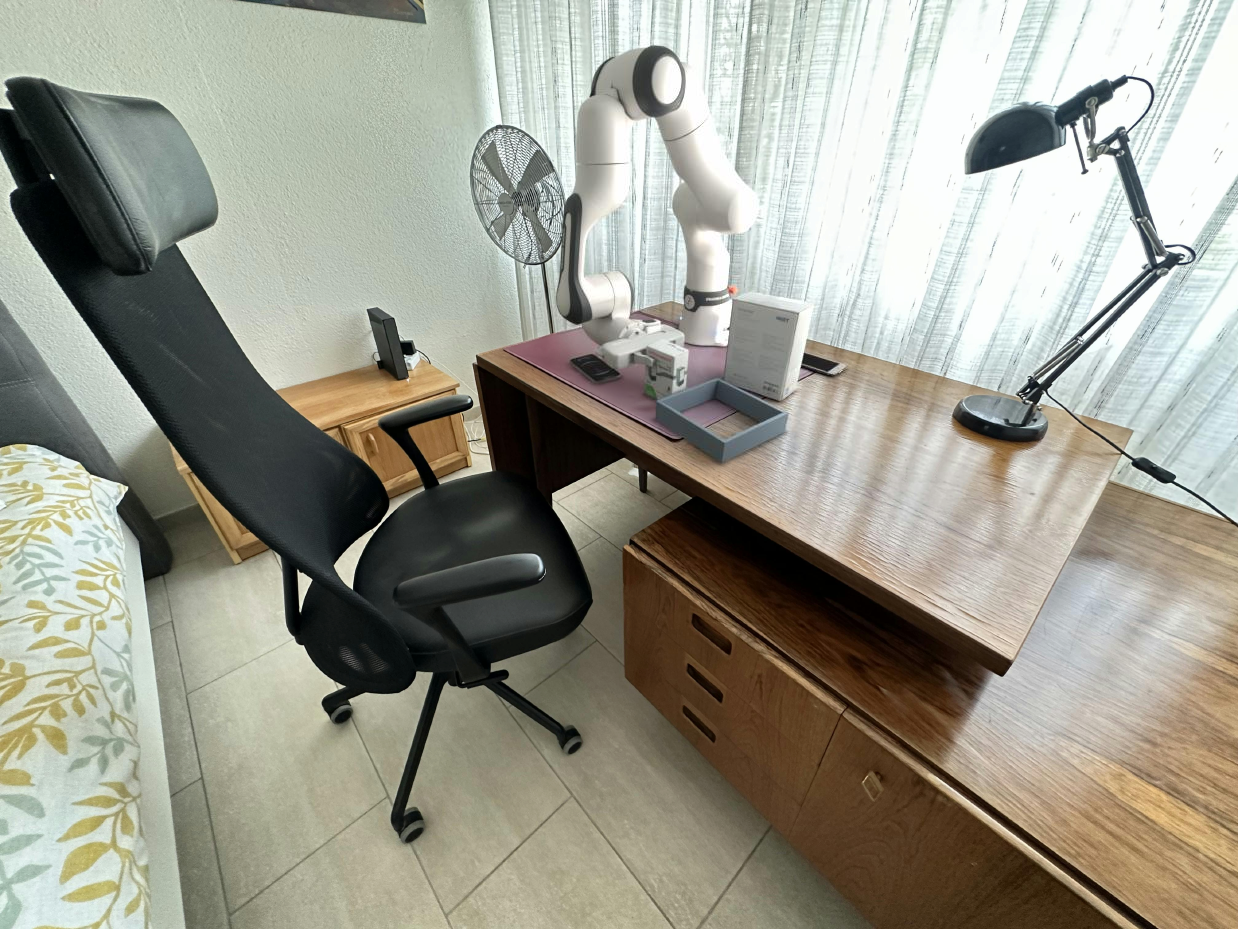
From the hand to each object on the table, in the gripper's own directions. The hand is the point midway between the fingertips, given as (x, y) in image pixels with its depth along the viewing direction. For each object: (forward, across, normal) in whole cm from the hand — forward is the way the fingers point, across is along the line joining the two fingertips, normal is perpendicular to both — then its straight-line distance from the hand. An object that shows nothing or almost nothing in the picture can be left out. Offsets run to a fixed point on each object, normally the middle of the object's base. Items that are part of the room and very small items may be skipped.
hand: (665, 358), depth 102 cm
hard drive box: (+9, +21, +10) cm, 25 cm away
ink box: (0, 0, +9) cm, 9 cm away
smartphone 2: (+9, +41, +9) cm, 43 cm away
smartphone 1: (-22, -5, +10) cm, 24 cm away
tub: (+16, +1, +9) cm, 19 cm away
